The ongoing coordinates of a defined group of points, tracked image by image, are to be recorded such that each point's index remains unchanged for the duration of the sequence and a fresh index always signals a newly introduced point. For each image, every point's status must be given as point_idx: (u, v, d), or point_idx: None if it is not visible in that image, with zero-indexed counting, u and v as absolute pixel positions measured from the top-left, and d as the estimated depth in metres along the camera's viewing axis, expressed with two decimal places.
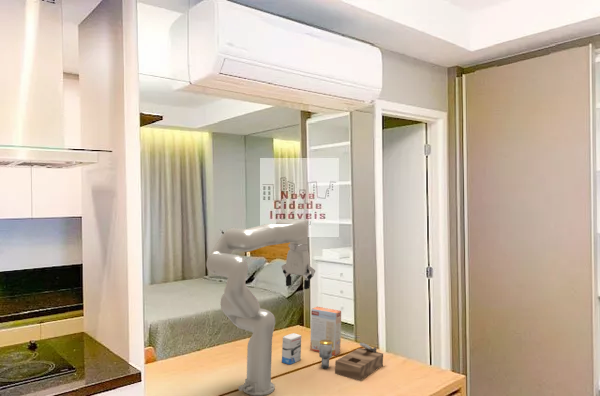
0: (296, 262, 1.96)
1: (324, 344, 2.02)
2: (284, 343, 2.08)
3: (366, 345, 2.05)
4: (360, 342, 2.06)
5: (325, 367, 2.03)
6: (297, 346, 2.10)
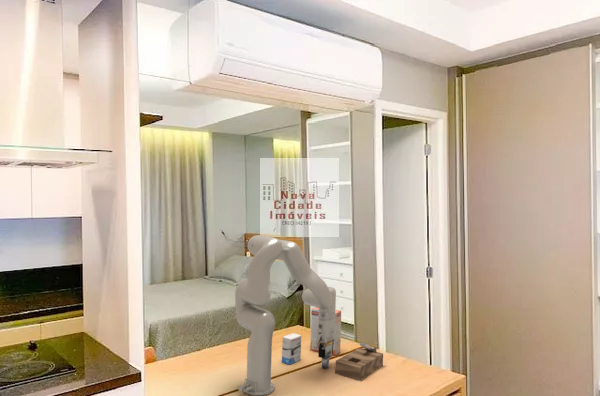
0: (332, 329, 2.03)
1: None
2: (284, 343, 2.08)
3: (366, 345, 2.05)
4: (360, 342, 2.06)
5: (325, 367, 2.03)
6: (297, 346, 2.10)
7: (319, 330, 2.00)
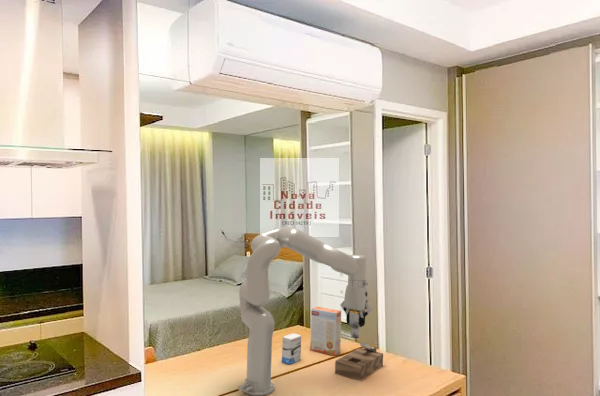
0: None
1: None
2: (284, 343, 2.08)
3: (366, 345, 2.05)
4: (360, 342, 2.06)
5: None
6: (297, 346, 2.10)
7: (365, 298, 1.96)
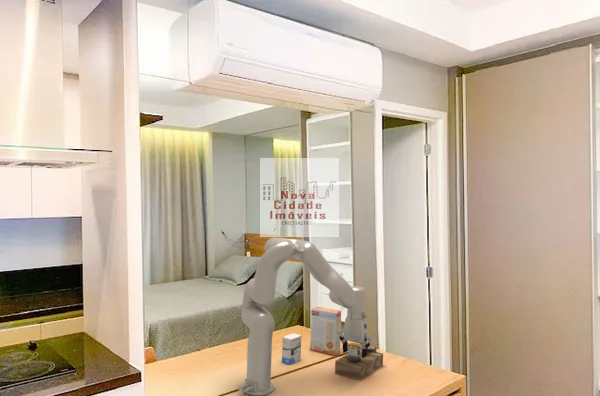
0: None
1: (360, 347, 1.98)
2: (284, 343, 2.08)
3: None
4: None
5: None
6: (297, 346, 2.10)
7: (365, 331, 1.96)
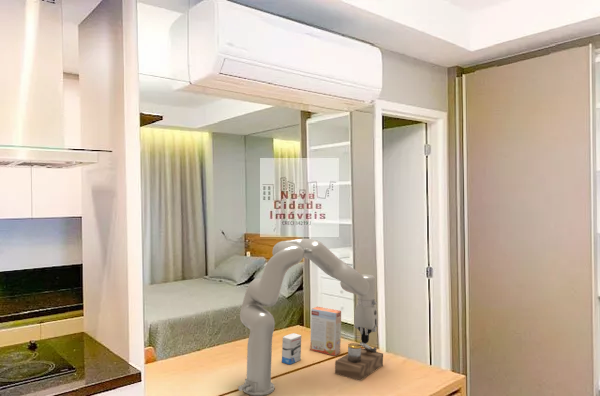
0: None
1: (360, 347, 1.98)
2: (284, 343, 2.08)
3: (366, 345, 2.05)
4: (360, 342, 2.06)
5: None
6: (297, 346, 2.10)
7: (375, 317, 2.03)
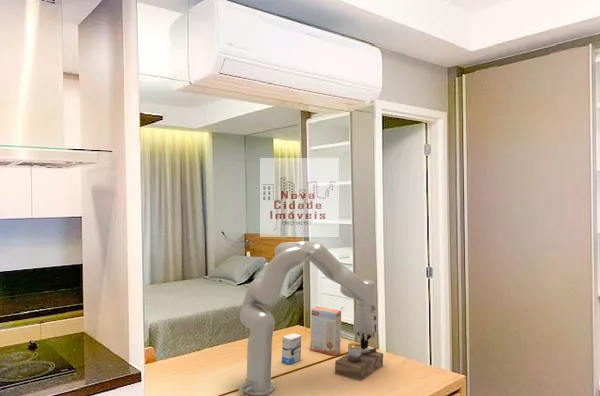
0: None
1: (360, 347, 1.98)
2: (284, 343, 2.08)
3: (365, 351, 2.04)
4: None
5: None
6: (297, 346, 2.10)
7: (374, 322, 2.03)
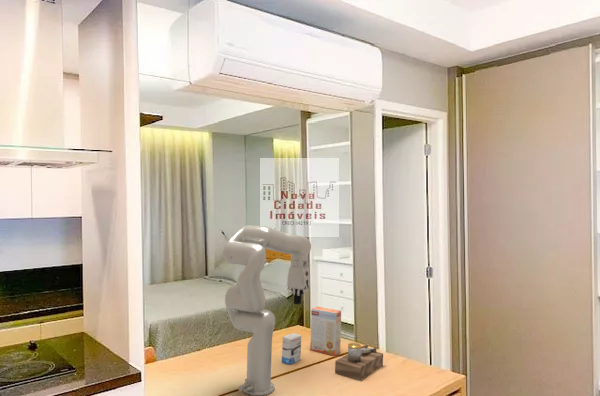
0: None
1: (360, 347, 1.98)
2: (284, 343, 2.08)
3: (365, 351, 2.04)
4: None
5: None
6: (297, 346, 2.10)
7: (306, 278, 2.06)
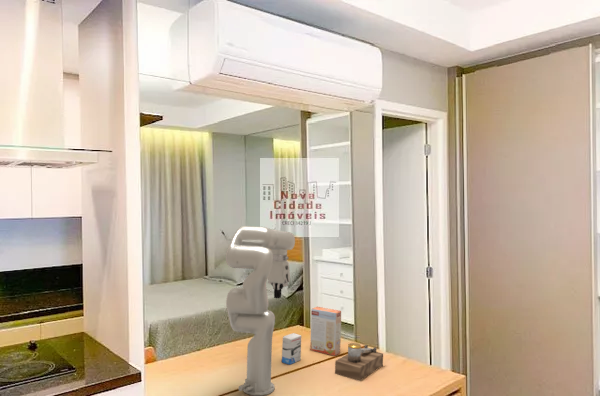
0: None
1: (360, 347, 1.98)
2: (284, 343, 2.08)
3: (365, 351, 2.04)
4: None
5: None
6: (297, 346, 2.10)
7: (286, 272, 2.07)
